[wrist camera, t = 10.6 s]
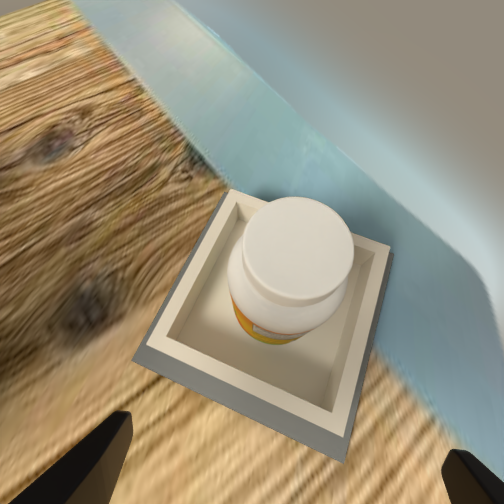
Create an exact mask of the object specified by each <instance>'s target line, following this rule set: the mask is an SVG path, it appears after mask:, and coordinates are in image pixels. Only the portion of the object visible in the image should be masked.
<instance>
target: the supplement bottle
mask: <svg viewBox="0 0 504 504" xmlns="http://www.w3.org/2000/svg"><path fill="white" fill-rule="evenodd" d="M353 261H354V242H353V238H352V235H351V232H350V230H349V228H348V226H347V225H346V223H345V222H344V220H343V219H342V218H341V217H340V216H339V215H338V214H337V213H336V212H335V211H334V210H333V209H331V208H330V207H328V206H327V205H325V204H323V203H321V202H319V201H316V200H313V199H309V198H305V197H285V198H280V199H277V200H274V201H271V202H269V203H267V204H266V205H264V206H263V207H261V208H260V209H259V210H258V211H257V212H256V213H255V214H254V215H253V216H252V217H251V218H250V220H249V222H248V223H247V226H246V228H245V231H244V234H243V235H242V236H241V237H240V238H239V239H238V241H237V242H236V244H235V245H234V247H233V250H232V252H231V254H230V257H229V262H228V268H227V278H228V286H229V291H230V295H231V300H232V304H233V309H234V312H235V316H236V318H237V320H238V322H239V324H240V326H241V327H242V329H243V330H244V331H245V332H246V333H247V334H248V335H249V336H251V337H252V338H254V339H255V340H257V341H259V342H262V343H265V344H269V345H283V344H287V343H290V342H293V341H295V340H297V339H299V338H301V337H302V336H304V335H305V334H307V333H309V332H310V331H312V330H313V329H315V328H317V327H319V326H320V325H322V324H323V323H324V322H326V321H327V320H328V319H329V318H330V317H331V316H332V315H333V314H334V313H335V312H336V311H337V309H338V308H339V306H340V305H341V303H342V301H343V299H344V296H345V293H346V289H347V283H348V274H349V272H350V270H351V268H352V265H353Z"/></svg>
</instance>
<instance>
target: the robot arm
mask: <svg viewBox="0 0 504 504" xmlns="http://www.w3.org/2000/svg"><path fill="white" fill-rule="evenodd" d="M132 437H133V425H132V415H131V413H130V412H129V411H121V410H117V411H115V412H113V413H112V414H111V415H110V416H109V417H108V418H106V419H105V420H104V421H103V422H102V423H101V424H99V425H98V426H97V427H96V428H95V429H94V430H93V431H91V432H90V433H89V434H88V435H87V436H86V437H84V438H83V439H82V440H81V441H80V442H79V443H78V444H76V445H75V446H74V447H73V448H72V449H71V450H69V451H68V452H67V453H66V454H65V455H64V456H63V457H61V458H60V459H59V460H58V461H57V462H56V463H55V464H53V465H52V466H51V467H50V468H49V469H48V470H46V471H45V472H44V473H43V474H42V475H41V476H40V477H38V478H37V479H36V480H35V481H34V482H33V483H31V484H30V485H29V486H28V487H27V488H26V489H25V490H23V491H22V492H21V493H20V494H19V495H18V496H16V497H15V498H14V499H13V500H12V501H11V502H10V503H8V504H109V502H110V499H111V497H112V494H113V491H114V488H115V485H116V483H117V480H118V477H119V474H120V471H121V469H122V466H123V463H124V460H125V457H126V455H127V452H128V449H129V446H130V443H131V440H132ZM441 473H442V478H443V481H444V484H445V487H446V490H447V493H448V496H449V499H450V502H451V504H504V482H503V481H501V480H500V479H499V478H498V477H497V476H496V475H495V474H494V473H493V472H491V471H490V470H489V469H488V468H487V467H486V466H485V465H484V464H483V463H481V462H480V461H479V460H478V459H477V458H476V457H475V456H474V455H473V454H471V453H470V452H468V451H466V450H459V449H452V450H450V451H449V453H448V455H447V457H446V459H445V461H444V463H443V465H442V469H441Z"/></svg>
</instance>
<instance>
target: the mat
mask: <svg viewBox="0 0 504 504" xmlns="http://www.w3.org/2000/svg"><path fill="white" fill-rule="evenodd" d="M227 195H228V193H226V192H224V194H223V195H222V197H221V199H220V201H219V203H218V205H217V206H216V208H215V210H214V212H213V214H212V215H211V217H210V219H209V221H208V223H207V224H206V226H205V228H204V230H203V232H202V233H201V235H200V237H199V239H198V241H197V243H196V244H195V246H194V248H193V250H192V252H191V253H190V255H189V257H188V259H187V261H186V262H185V264H184V266H183V268H182V270H181V271H180V273H179V275H178V277H177V279H176V281H175V282H174V284H173V286H172V288H171V290H170V291H169V293H168V295H167V297H166V299H165V300H164V302H163V304H162V306H161V308H160V309H159V311H158V313H157V315H156V317H155V319H154V320H153V322H152V324H151V326H150V328H149V329H148V331H147V333H146V335H145V337H144V338H143V340H142V342H141V344H140V346H139V347H138V349H137V351H136V353H135V355H134V357H133V358H132V360H131V361H133V362H135V363H137V364H139V365H141V366H143V367H145V368H147V369H149V370H152V371H154V372H156V373H158V374H160V375H162V376H164V377H166V378H168V379H170V380H172V381H174V382H176V383H178V384H180V385H182V386H185V387H187V388H189V389H191V390H193V391H195V392H197V393H199V394H201V395H203V396H205V397H207V398H209V399H211V400H213V401H215V402H217V403H220V404H222V405H224V406H226V407H228V408H230V409H232V410H234V411H236V412H238V413H240V414H242V415H244V416H246V417H248V418H250V419H252V420H255V421H257V422H259V423H261V424H263V425H265V426H267V427H269V428H271V429H273V430H275V431H277V432H279V433H281V434H283V435H285V436H288V437H290V438H292V439H294V440H296V441H298V442H300V443H302V444H304V445H306V446H308V447H310V448H312V449H314V450H316V451H318V452H320V453H323V454H325V455H327V456H329V457H331V458H333V459H335V460H337V461H339V462H341V463H343V464H344V461H345V457H346V452H347V448H348V444H349V440H350V436H351V432H352V427H353V423H354V419H355V415H356V411H357V406H358V402H359V398H360V394H361V390H362V386H363V381H364V377H365V373H366V369H367V365H368V361H369V356H370V352H371V348H372V344H373V340H374V335H375V331H376V327H377V323H378V319H379V315H380V310H381V306H382V302H383V298H384V294H385V289H386V285H387V281H388V277H389V273H390V269H391V264H392V260H393V256H394V254H393V253H390V252H389V254H388V258H387V262H386V266H385V270H384V274H383V278H382V282H381V286H380V291H379V295H378V299H377V303H376V307H375V311H374V315H373V319H372V323H371V327H370V331H369V335H368V339H367V343H366V347H365V351H364V355H363V359H362V363H361V367H360V371H359V375H358V379H357V383H356V387H355V391H354V395H353V400H352V404H351V408H350V412H349V416H348V420H347V424H346V428H345V432H344V436H343V437H341V436H339V435H337V434H335V433H333V432H330V431H328V430H326V429H324V428H322V427H320V426H318V425H316V424H313V423H311V422H309V421H307V420H305V419H303V418H301V417H299V416H297V415H294V414H292V413H290V412H288V411H286V410H284V409H282V408H280V407H277V406H275V405H273V404H271V403H269V402H267V401H265V400H263V399H260V398H258V397H256V396H254V395H252V394H250V393H248V392H246V391H244V390H241V389H239V388H237V387H235V386H233V385H231V384H229V383H227V382H224V381H222V380H220V379H218V378H216V377H214V376H212V375H210V374H207V373H205V372H203V371H201V370H199V369H197V368H195V367H193V366H191V365H188V364H186V363H184V362H182V361H180V360H178V359H176V358H174V357H171V356H169V355H167V354H165V353H163V352H161V351H159V350H157V349H154V348H152V347H150V346H148V345H146V343H147V341H148V340H149V338H150V336H151V334H152V332H153V330H154V329H155V327H156V325H157V323H158V321H159V319H160V318H161V316H162V314H163V312H164V310H165V308H166V307H167V305H168V303H169V301H170V299H171V297H172V296H173V294H174V292H175V290H176V288H177V286H178V285H179V283H180V281H181V279H182V277H183V275H184V274H185V272H186V270H187V268H188V266H189V264H190V263H191V261H192V259H193V257H194V255H195V253H196V251H197V250H198V248H199V246H200V244H201V242H202V240H203V239H204V237H205V235H206V233H207V231H208V229H209V228H210V226H211V224H212V222H213V220H214V218H215V217H216V215H217V213H218V211H219V209H220V207H221V206H222V204H223V202H224V200H225V198H226V196H227Z"/></svg>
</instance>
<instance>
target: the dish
mask: <svg viewBox="0 0 504 504" xmlns="http://www.w3.org/2000/svg"><path fill="white" fill-rule="evenodd" d="M267 203H269V202H266V201H263V200H261V199H258V198H255V197H252V196H250V195H247V194H244V193H241V192H238V191H236V190H233V189H230V191H229V193H228V195H227V196H226V198H225V200H224V202H223V204H222V206H221V207H220V209H219V211H218V213H217V215H216V217H215V218H214V220H213V222H212V224H211V226H210V228H209V229H208V231H207V233H206V235H205V237H204V239H203V240H202V242H201V244H200V246H199V248H198V250H197V251H196V253H195V255H194V257H193V259H192V261H191V263H190V264H189V266H188V268H187V270H186V272H185V274H184V275H183V277H182V279H181V281H180V283H179V285H178V286H177V288H176V290H175V292H174V294H173V296H172V297H171V299H170V301H169V303H168V305H167V307H166V308H165V310H164V312H163V314H162V316H161V318H160V319H159V321H158V323H157V325H156V327H155V329H154V330H153V332H152V334H151V336H150V338H149V340H148V341H147V343H146V345H148V346H150V347H152V348H154V349H157V350H159V351H161V352H163V353H165V354H167V355H169V356H171V357H174V358H176V359H178V360H180V361H182V362H184V363H186V364H188V365H191V366H193V367H195V368H197V369H199V370H201V371H203V372H205V373H207V374H210V375H212V376H214V377H216V378H218V379H220V380H222V381H224V382H227V383H229V384H231V385H233V386H235V387H237V388H239V389H241V390H244V391H246V392H248V393H250V394H252V395H254V396H256V397H258V398H260V399H263V400H265V401H267V402H269V403H271V404H273V405H275V406H277V407H280V408H282V409H284V410H286V411H288V412H290V413H292V414H294V415H297V416H299V417H301V418H303V419H305V420H307V421H309V422H311V423H313V424H316V425H318V426H320V427H322V428H324V429H326V430H328V431H330V432H333V433H335V434H337V435H339V436H341V437H343V436H344V432H345V428H346V424H347V420H348V416H349V412H350V408H351V404H352V400H353V395H354V391H355V387H356V383H357V379H358V375H359V371H360V367H361V363H362V359H363V355H364V351H365V347H366V343H367V339H368V335H369V331H370V327H371V323H372V319H373V315H374V311H375V307H376V303H377V299H378V295H379V291H380V286H381V282H382V278H383V274H384V270H385V266H386V262H387V258H388V254H389V250H390V246H388V245H385V244H382V243H379V242H377V241H374V240H371V239H368V238H365V237H363V236H360V235H357V234H354V233H352V232H351V235H352V238H353V242H354V261H353V265H352V268H351V270H350V272H349V274H348V283H347V289H346V293H345V296H344V299H343V301H342V303H341V305H340V306H339V308H338V309H337V311H336V312H335V313H334V314H333V315H332V316H331V317H330V318H329V319H328V320H327V321H326V322H324V323H323V324H322V325H320V326H319V327H317V328H315V329H313V330H312V331H310V332H309V333H307V334H305V335H304V336H302V337H301V338H299V339H297V340H295V341H293V342H290V343H287V344H283V345H269V344H265V343H262V342H259V341H257V340H255V339H254V338H252V337H251V336H249V335H248V334H247V333H246V332H245V331H244V330H243V329H242V327H241V326H240V324H239V322H238V320H237V318H236V316H235V312H234V309H233V304H232V300H231V295H230V291H229V286H228V278H227V268H228V262H229V257H230V254H231V252H232V250H233V247H234V245H235V244H236V242H237V241H238V239H239V238H240V237H241V236H242V235H243V234H244V231H245V228H246V226H247V223H248V222H249V220H250V218H251V217H252V216H253V215H254V214H255V213H256V212H257V211H258V210H259V209H260V208H261V207H263V206H264V205H266V204H267Z"/></svg>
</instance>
